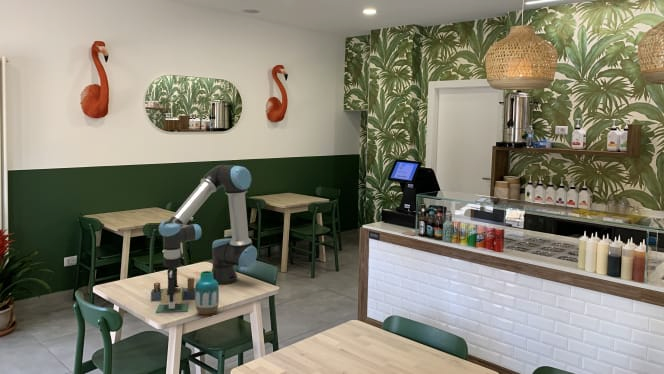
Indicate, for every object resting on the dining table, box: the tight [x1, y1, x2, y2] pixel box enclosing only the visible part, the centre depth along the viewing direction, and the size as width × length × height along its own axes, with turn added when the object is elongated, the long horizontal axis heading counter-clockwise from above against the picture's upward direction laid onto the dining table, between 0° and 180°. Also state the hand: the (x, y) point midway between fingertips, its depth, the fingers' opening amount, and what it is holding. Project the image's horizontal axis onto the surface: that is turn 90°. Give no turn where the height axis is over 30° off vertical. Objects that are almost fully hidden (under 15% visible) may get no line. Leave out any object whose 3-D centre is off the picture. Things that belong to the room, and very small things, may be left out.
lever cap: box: [160, 287, 185, 304], centre depth 246 cm, size 9×8×5 cm
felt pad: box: [155, 302, 190, 314], centre depth 247 cm, size 14×10×1 cm
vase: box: [194, 270, 220, 315], centre depth 241 cm, size 11×11×19 cm
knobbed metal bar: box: [150, 277, 195, 302], centre depth 260 cm, size 21×5×10 cm, turn 100°
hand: (173, 304), depth 247 cm, fingers closed on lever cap, 8 cm apart
